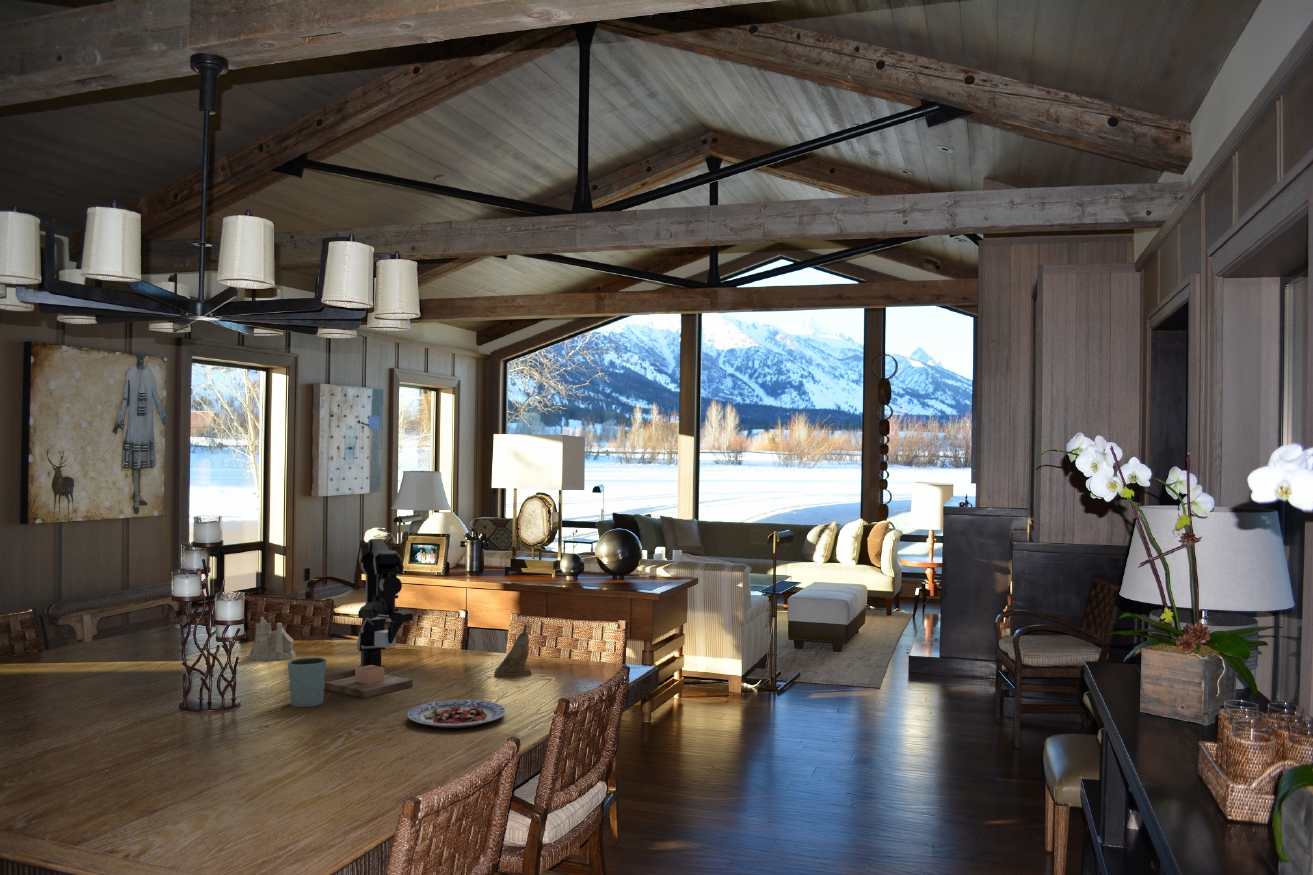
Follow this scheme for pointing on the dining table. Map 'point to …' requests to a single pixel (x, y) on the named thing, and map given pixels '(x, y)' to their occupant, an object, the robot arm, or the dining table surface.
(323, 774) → the dining table surface
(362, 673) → the terracotta block
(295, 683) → the blue green cup
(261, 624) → the beige sandcastle sculpture
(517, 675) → the worn brown figurine
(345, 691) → the walnut base
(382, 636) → the grey blue cube
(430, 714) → the ceramic plate
